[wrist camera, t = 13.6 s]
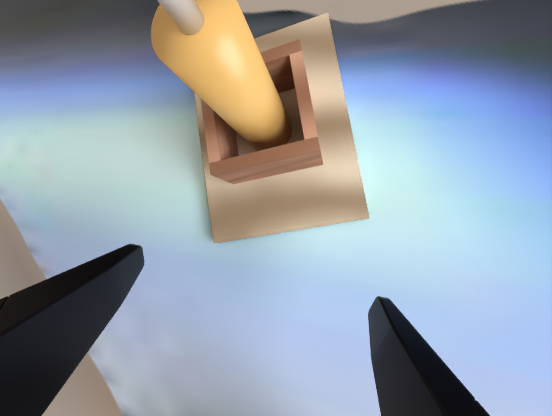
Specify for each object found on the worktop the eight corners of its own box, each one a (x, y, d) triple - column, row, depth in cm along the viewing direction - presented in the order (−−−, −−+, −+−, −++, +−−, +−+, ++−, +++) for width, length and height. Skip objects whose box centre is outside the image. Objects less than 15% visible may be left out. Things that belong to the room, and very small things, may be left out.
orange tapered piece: (263, 163, 19) (15, -55, 4) (239, 129, 20) (-44, -156, 5) (301, 133, 18) (161, -230, 4) (274, 99, 19) (71, -314, 5)
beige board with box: (367, 218, 18) (378, 215, 13) (218, 242, 20) (185, 247, 16) (328, 21, 20) (325, -38, 15) (195, 67, 22) (160, 28, 18)
